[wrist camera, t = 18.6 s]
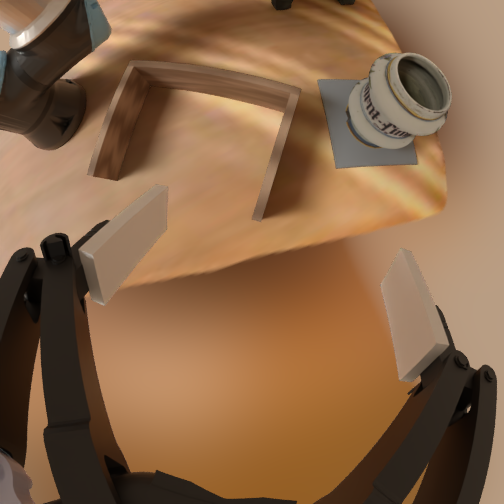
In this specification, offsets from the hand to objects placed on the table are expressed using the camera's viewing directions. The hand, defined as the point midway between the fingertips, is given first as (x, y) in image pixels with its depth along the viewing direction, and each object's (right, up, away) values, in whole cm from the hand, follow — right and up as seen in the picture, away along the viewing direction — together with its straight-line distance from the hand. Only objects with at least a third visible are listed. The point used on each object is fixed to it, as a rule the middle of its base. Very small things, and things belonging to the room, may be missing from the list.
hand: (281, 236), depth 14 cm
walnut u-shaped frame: (-10, +17, +26) cm, 33 cm away
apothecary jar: (+19, +21, +25) cm, 38 cm away
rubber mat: (+19, +21, +25) cm, 38 cm away
